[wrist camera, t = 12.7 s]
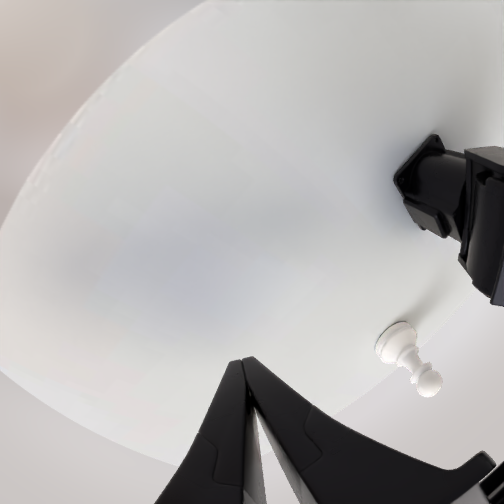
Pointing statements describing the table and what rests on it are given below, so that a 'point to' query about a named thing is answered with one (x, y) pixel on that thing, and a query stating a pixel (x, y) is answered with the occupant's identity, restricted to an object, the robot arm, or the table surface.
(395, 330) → the chess pawn
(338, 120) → the table surface
